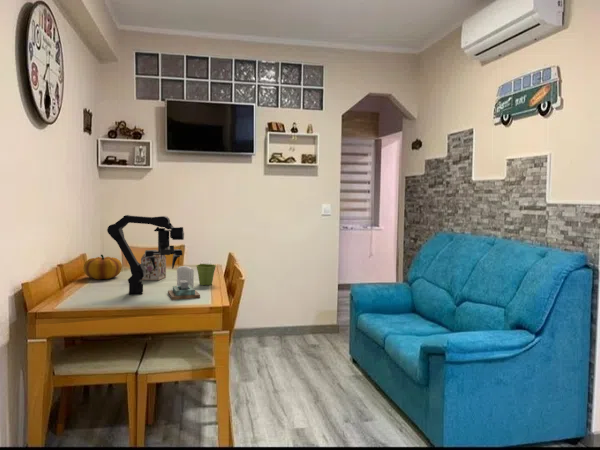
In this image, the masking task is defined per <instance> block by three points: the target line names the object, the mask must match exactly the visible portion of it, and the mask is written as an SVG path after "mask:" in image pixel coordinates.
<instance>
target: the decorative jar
mask: <svg viewBox="0 0 600 450" xmlns="http://www.w3.org/2000/svg"><path fill="white" fill-rule="evenodd" d="M152 250H153V252H154V251H158V249H152ZM154 261H155V270H154V267H153V264H152V261H151V259H150V258H148V257H146V256H145V253H143V254H142V256H141V258H140V264H141V263H143V265H144V267H145V268H146V275H145V276H144V277H143V278H142V280H141V281H157V280H158V281H161V280H163V279H165V278H166V277H167V256H166V255H154Z"/></svg>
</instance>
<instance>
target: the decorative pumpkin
mask: <svg viewBox="0 0 600 450" xmlns="http://www.w3.org/2000/svg"><path fill="white" fill-rule="evenodd" d="M82 267H83V273H84V274H85V275H86V276H87V277H88V278H90V279H95V280H97V281H99V280H110V279H113V278H116V277H117V276H119V275H120V274H121V272H122V268H123V265H122V262H121V260H119V259H118V258H117V257H111V256H105V257H104V255H103V254H100V256H97V257H91V258H89V259H87V260H85V262H84V263H83V266H82Z"/></svg>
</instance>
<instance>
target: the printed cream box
mask: <svg viewBox="0 0 600 450" xmlns="http://www.w3.org/2000/svg"><path fill="white" fill-rule="evenodd" d="M194 273H195V272H194V269H193V268H192V267H191V266H187V265H182V266H181V265H180V266H179V267H177V270H176V278H177V279H176V286H179V280H186V281H187V282H188V285H191V286H192V287H193V288H194V279H195V278H194V275H195V274H194Z"/></svg>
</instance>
